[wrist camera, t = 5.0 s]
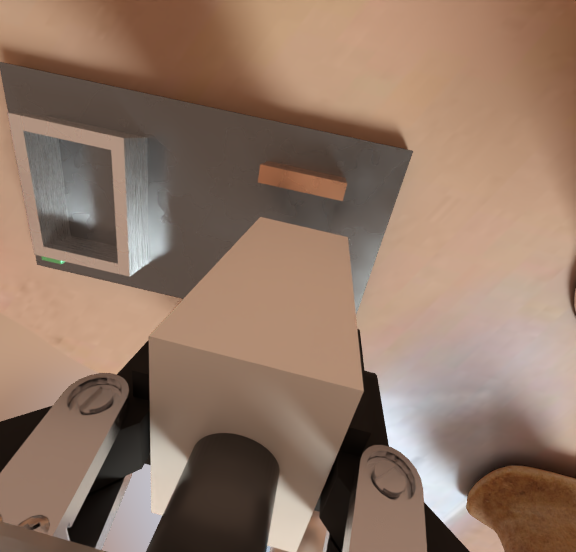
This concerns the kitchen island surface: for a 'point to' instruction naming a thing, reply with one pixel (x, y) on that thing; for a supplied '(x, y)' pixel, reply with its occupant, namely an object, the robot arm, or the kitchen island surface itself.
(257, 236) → the plug
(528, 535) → the tan suede boot
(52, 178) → the panel
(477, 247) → the kitchen island surface
